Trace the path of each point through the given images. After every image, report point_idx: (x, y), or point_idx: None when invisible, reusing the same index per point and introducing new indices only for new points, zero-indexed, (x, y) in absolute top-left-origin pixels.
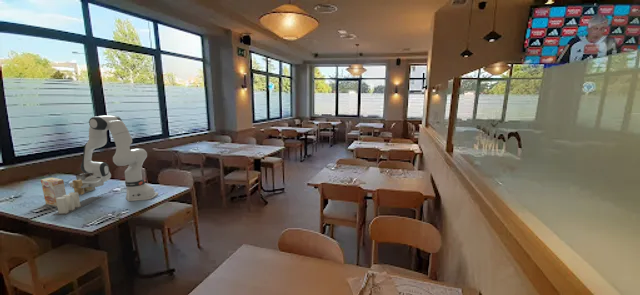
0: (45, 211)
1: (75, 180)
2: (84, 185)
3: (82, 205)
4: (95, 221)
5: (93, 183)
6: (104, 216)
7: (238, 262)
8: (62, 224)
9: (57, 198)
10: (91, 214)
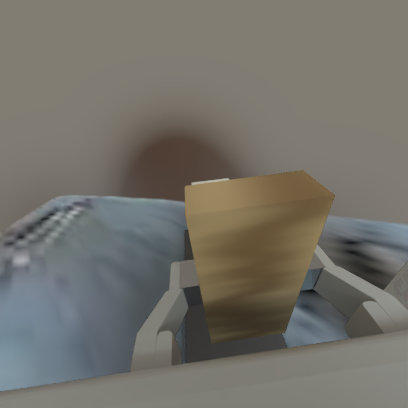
0: (328, 252)
1: (270, 182)
2: (169, 288)
3: (207, 331)
4: (64, 219)
5: (23, 388)
6: (42, 244)
7: None
8: (149, 200)
9: (221, 179)
10: (96, 251)
